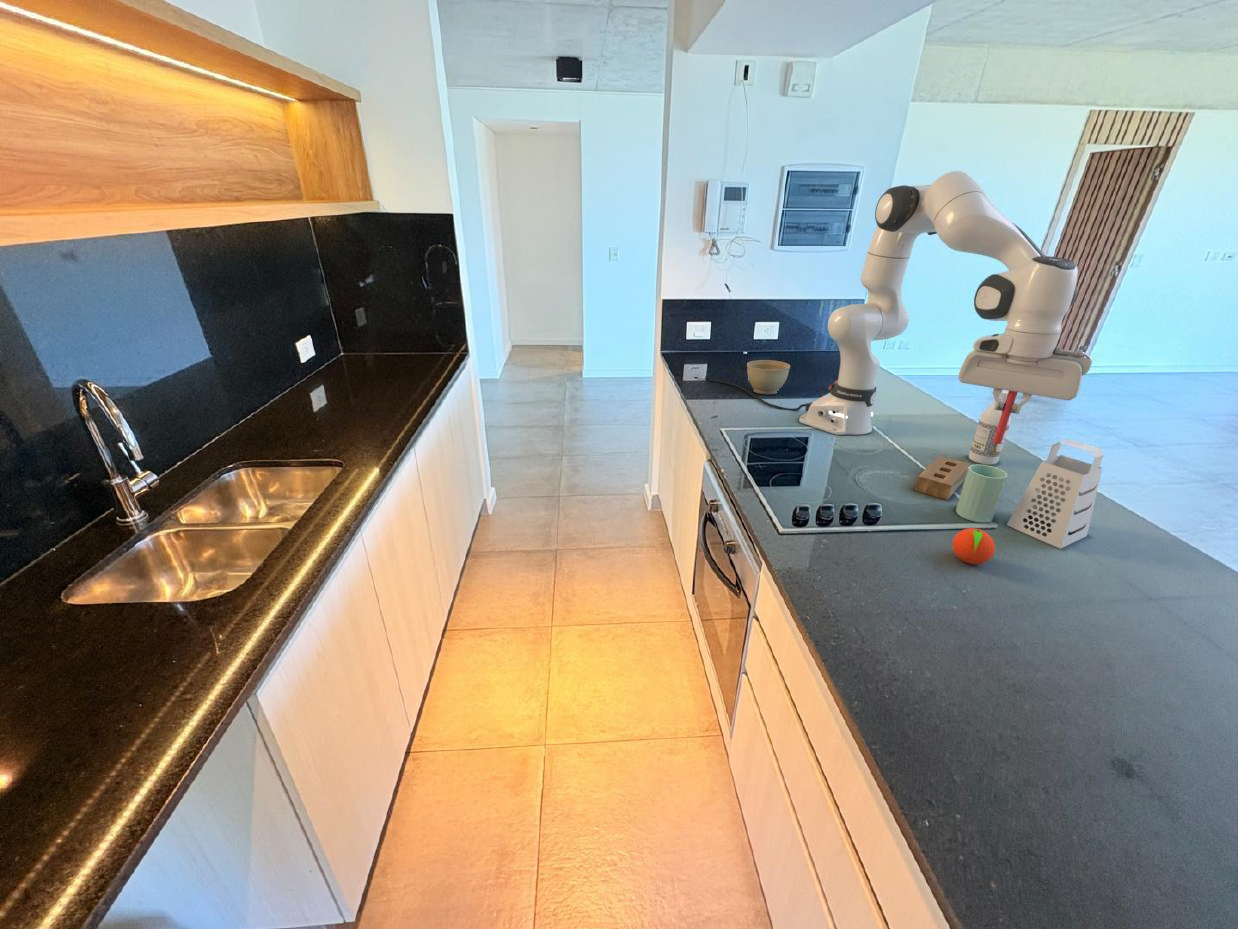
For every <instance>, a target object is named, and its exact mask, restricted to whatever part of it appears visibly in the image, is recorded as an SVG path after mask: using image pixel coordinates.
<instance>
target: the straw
mask: <svg viewBox="0 0 1238 929" xmlns="http://www.w3.org/2000/svg"><path fill="white" fill-rule="evenodd" d="M1017 395H1018V392H1014V391H1009V392H1008V395H1007V398H1006V401H1005V405H1004V408H1003V411H1002V414H1001V417H1000V421H999V424H998V427H997V430H996V433H995V436H994V440H993V443H996V444H1001V442H1002V439H1003V436H1004V433H1005V430H1006V427H1007V424H1008V420H1009V417H1011V414H1012V413H1010V412H1011V409H1012V405H1013V404H1014V403H1016V402H1015V401H1016V400H1017Z"/></svg>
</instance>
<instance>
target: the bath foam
mask: <svg viewBox="0 0 1238 929" xmlns="http://www.w3.org/2000/svg"><path fill="white" fill-rule="evenodd" d="M1008 392H1009V391H1008V390H1003V392H1002V393H1001V394H1000V396H1001V399H1002V401H1006V398H1007V395H1008ZM995 405H996V401H995V399H994V401H993V403H992V404H991V405H989V407H987V408H986V409H985V410H984V411H983V412H982V414H981V415H980V417H979V419H978V422H977V426H976V429H975V432H974V436H973V438H972V443H971V446H970V449H969V453H968V459H969V460H970V461H972V462H974V463H975V464H980V465H988V466H992V465H993V466H994V465H996V464H997V463H998V462H999V459H1000V457H1001V453H1002V450H1003V447H1004V444H1005V441H1006V439H1007V435H1008V432H1009V429H1010V425H1011V419H1012V418H1011V416H1010V417H1009V420H1008V424H1007V427H1006V430H1005V433H1004V436H1003V439H1002V442H1001V444H996V443H993V440H994V436H995V433H996V430H997V427H998V424H999V421H1000V417H1001V414H1002V411H1000V410H994V408H995Z"/></svg>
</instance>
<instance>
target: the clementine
mask: <svg viewBox="0 0 1238 929" xmlns="http://www.w3.org/2000/svg"><path fill="white" fill-rule="evenodd" d="M951 546H952V550H953V552H954V554H955V556H956V557H957V558H958V559H959V560H961V561H962V562H964V563H966V564H970V565H981V564H985V563H986V562H989V560H991V558H993V556H994V554H995V550H996V545H995V541H994V539H993V537H992V536H991V535H990V534H989V533H987V532H986V531H985V530H983V529H981V528H975V527H970V528H965V529H962V530H960V531H959V532H957V533H956V534H955V536H954V537H953V539H952V543H951Z"/></svg>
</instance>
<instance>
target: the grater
mask: <svg viewBox="0 0 1238 929" xmlns="http://www.w3.org/2000/svg"><path fill="white" fill-rule="evenodd" d="M1062 444H1063V445H1066V446H1070V447H1074V448H1077V449H1080V450H1083V451H1087V452H1090V453H1091V454H1092V456H1093V458H1094V459H1093V461H1092V464H1091V463H1088V462H1085V461H1082V460H1080V459H1079V460H1078V459H1076V458H1073V457H1069V456H1066V455H1063V454H1059V455H1058V453H1059V451H1060V448H1061V446H1062ZM1104 456H1105V454H1104V452H1103V451H1102V449H1101V448H1100V447H1098V446H1094V445H1090V444H1088V443H1083V442H1079V441H1076V440H1073V439H1070V438H1068V439H1065V440H1061V441H1058V442H1057V443H1054V444H1052V445H1051V448H1050V450H1049V453H1048V455H1047V459H1045V460H1042V461H1041V462H1040V464H1039V466H1038V468H1037V470H1036V472H1035V473H1034V475H1033V477H1032V478H1031V481H1030V482H1029V484H1028V486H1027V487H1026V489H1025V491H1024V493H1023V495H1022V497H1021V498H1020V500H1019V502H1018V503H1017V505H1016V507H1015V509H1014V511H1013V512H1012V514H1011V516H1010V517H1009V520H1008V521H1007V523H1006V526H1008V527H1010V528H1012V529H1014V530H1016V531H1019V532H1022V533H1023V534H1025V535H1027V536H1030V537H1032V538H1035V539H1037V540H1039V541H1042V542H1044V543H1046V544H1048V545H1050V546H1053V547H1055V548H1058V549H1064V548H1065V547H1067V546H1070V545H1071V544H1073V543H1076V542H1078V541H1079V540H1082V539H1083V538H1086V537H1087V536H1088V533H1089V528H1090V524H1091V520H1092V516H1093V511H1094V506H1095V502H1096V498H1097V494H1098V488H1099V485H1100V480H1101V475H1102V471H1103V467H1102V466H1100V465H1101V463H1102V461H1103V458H1104ZM1038 490H1039V491H1038ZM1029 516H1031V517H1032V518H1029ZM1024 519H1026V520H1027V521H1024ZM1035 519H1037V520H1038V521H1035ZM1042 521H1043V522H1044V523H1041V522H1042ZM1030 522H1032V524H1030ZM1036 524H1037V525H1038V527H1037V526H1036ZM1047 524H1050V526H1047ZM1025 526H1028V528H1026V527H1025ZM1042 527H1044V528H1045V529H1042ZM1031 528H1033V529H1034V530H1031ZM1048 529H1049V530H1051V532H1049V531H1048ZM1037 531H1039V532H1040V533H1037ZM1073 532H1074V533H1073ZM1043 533H1044V534H1046V536H1044V535H1043ZM1069 533H1072V534H1070V535H1069Z"/></svg>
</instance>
